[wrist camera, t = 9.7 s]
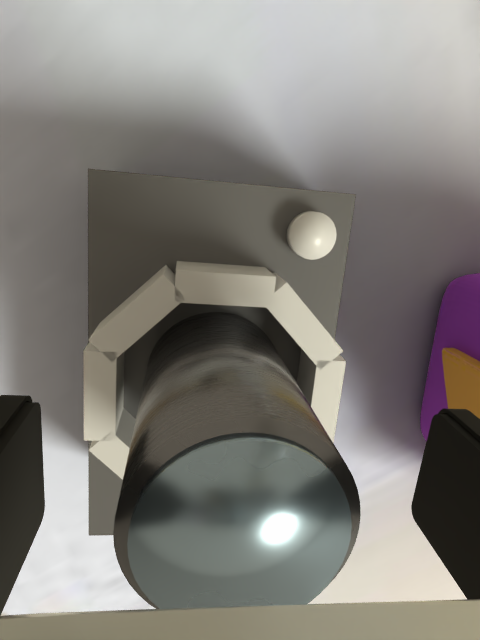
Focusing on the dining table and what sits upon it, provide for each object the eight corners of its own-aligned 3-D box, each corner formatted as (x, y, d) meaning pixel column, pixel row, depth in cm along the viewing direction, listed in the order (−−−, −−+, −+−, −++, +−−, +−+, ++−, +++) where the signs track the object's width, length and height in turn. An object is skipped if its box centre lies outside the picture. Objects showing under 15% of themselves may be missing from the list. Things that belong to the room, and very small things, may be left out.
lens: (148, 308, 16) (112, 423, 8) (286, 315, 16) (385, 428, 8) (144, 435, 17) (109, 646, 9) (272, 436, 18) (346, 634, 10)
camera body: (112, 176, 19) (72, 164, 12) (315, 195, 20) (380, 194, 13) (109, 463, 22) (77, 576, 16) (281, 464, 24) (319, 569, 17)
